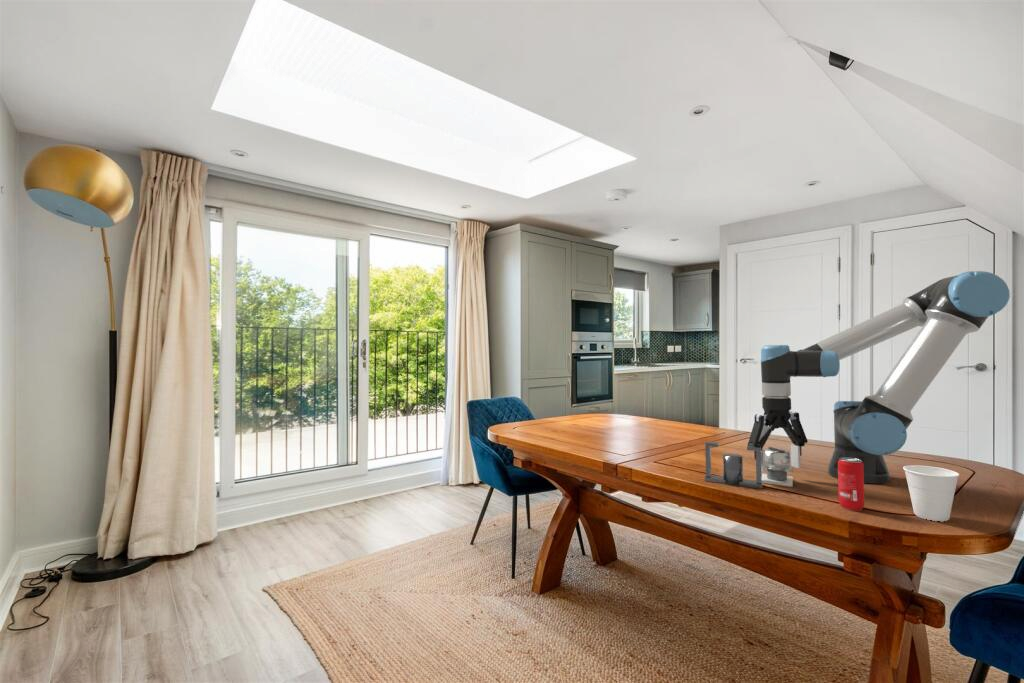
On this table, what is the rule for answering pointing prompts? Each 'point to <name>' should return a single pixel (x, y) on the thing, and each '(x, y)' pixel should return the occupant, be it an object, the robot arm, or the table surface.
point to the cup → (931, 491)
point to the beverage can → (851, 483)
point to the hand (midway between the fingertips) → (778, 469)
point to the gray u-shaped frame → (733, 468)
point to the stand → (777, 478)
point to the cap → (777, 459)
